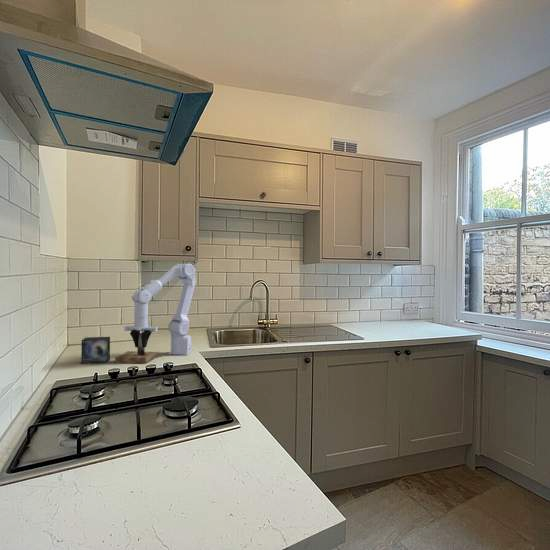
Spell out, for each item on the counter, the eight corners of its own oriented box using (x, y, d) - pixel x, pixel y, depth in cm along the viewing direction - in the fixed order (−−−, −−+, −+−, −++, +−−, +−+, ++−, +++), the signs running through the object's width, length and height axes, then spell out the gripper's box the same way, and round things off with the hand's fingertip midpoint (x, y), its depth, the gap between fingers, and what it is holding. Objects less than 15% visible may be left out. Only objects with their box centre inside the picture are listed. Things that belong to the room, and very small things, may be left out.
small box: (80, 364, 148) (80, 340, 148) (84, 360, 155) (84, 337, 155) (107, 363, 151) (107, 339, 151) (110, 359, 157) (110, 336, 157)
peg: (145, 352, 158) (145, 333, 158) (143, 354, 155) (143, 334, 155) (138, 352, 158) (138, 333, 158) (136, 354, 155) (136, 334, 155)
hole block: (156, 357, 162) (156, 352, 162) (146, 363, 151) (146, 357, 151) (127, 356, 163) (127, 351, 163) (115, 362, 152) (115, 356, 152)
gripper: (121, 317, 153) (120, 348, 153) (153, 318, 152) (152, 349, 152) (128, 315, 160) (128, 345, 160) (159, 316, 159) (159, 346, 159)
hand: (140, 347), depth 157 cm, fingers closed on peg, 3 cm apart
